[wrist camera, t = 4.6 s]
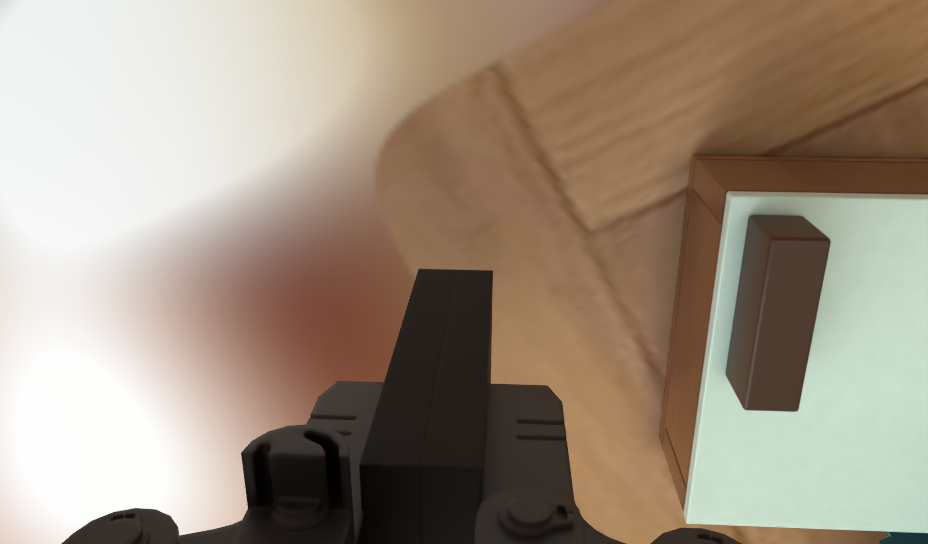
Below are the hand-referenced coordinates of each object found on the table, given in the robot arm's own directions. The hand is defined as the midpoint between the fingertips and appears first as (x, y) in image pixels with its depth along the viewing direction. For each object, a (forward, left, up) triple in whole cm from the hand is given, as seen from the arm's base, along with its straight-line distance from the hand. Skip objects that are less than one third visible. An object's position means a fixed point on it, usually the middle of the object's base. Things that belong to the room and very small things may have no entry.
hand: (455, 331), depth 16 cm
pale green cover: (+2, +11, -2) cm, 12 cm away
